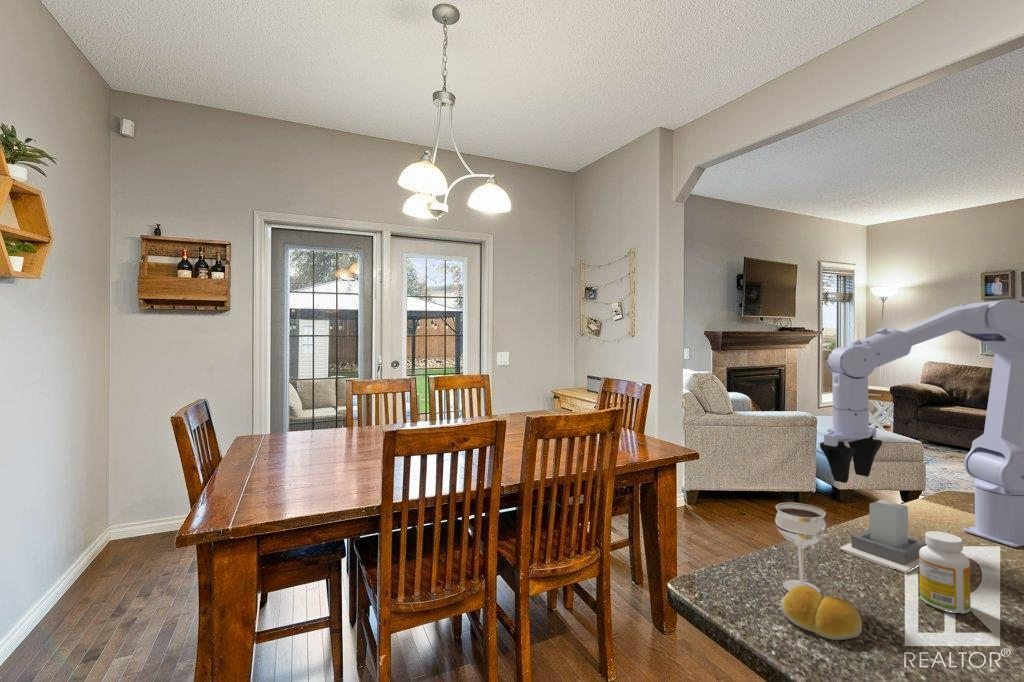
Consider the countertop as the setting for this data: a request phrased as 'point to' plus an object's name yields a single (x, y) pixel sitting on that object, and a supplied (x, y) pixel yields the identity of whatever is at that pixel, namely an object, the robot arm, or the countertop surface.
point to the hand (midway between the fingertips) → (851, 478)
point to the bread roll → (821, 613)
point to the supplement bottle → (944, 573)
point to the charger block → (889, 523)
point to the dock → (885, 552)
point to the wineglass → (800, 532)
